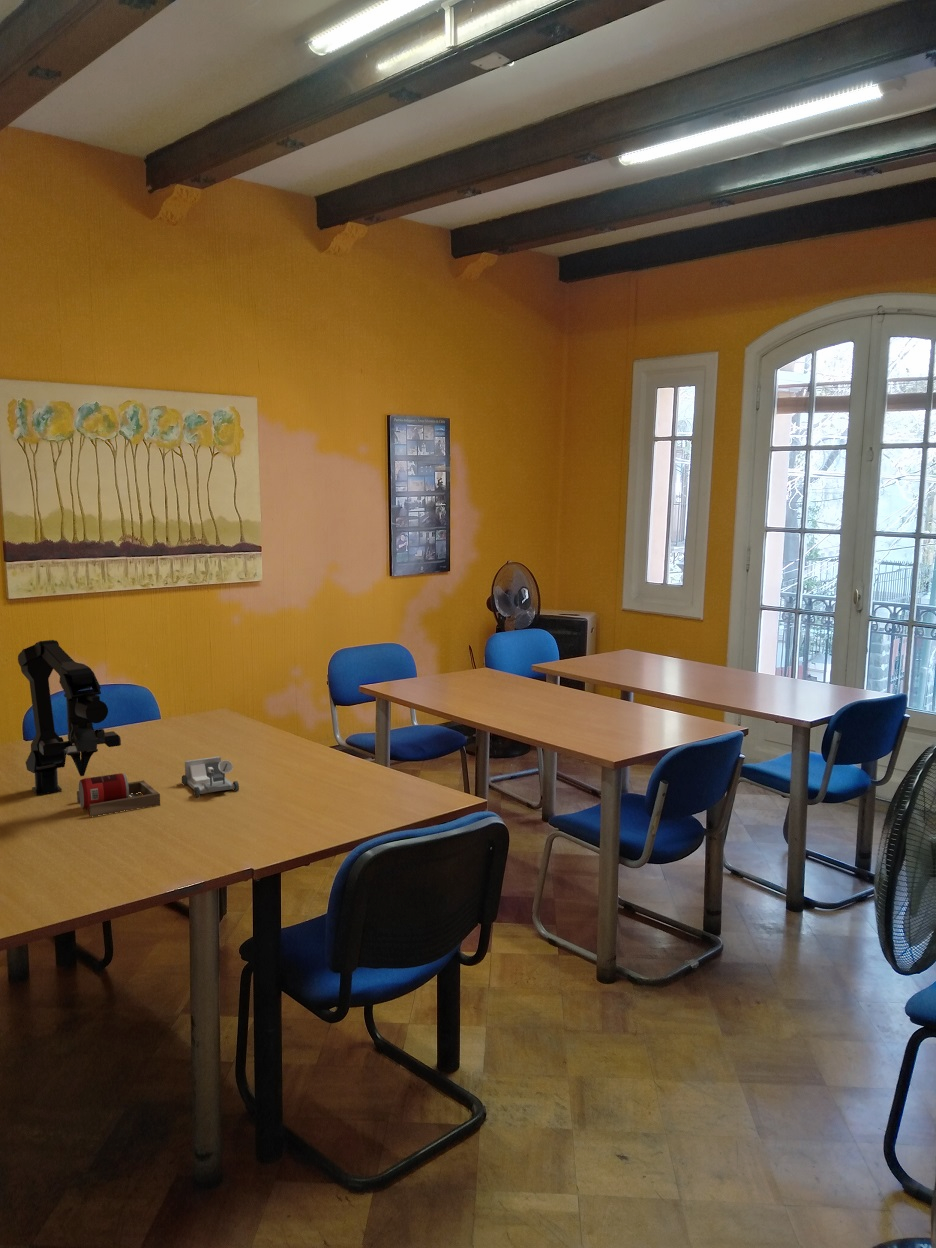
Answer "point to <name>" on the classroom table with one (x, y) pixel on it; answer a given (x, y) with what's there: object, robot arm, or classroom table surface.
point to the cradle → (127, 800)
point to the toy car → (208, 775)
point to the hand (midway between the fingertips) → (81, 775)
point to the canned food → (103, 789)
